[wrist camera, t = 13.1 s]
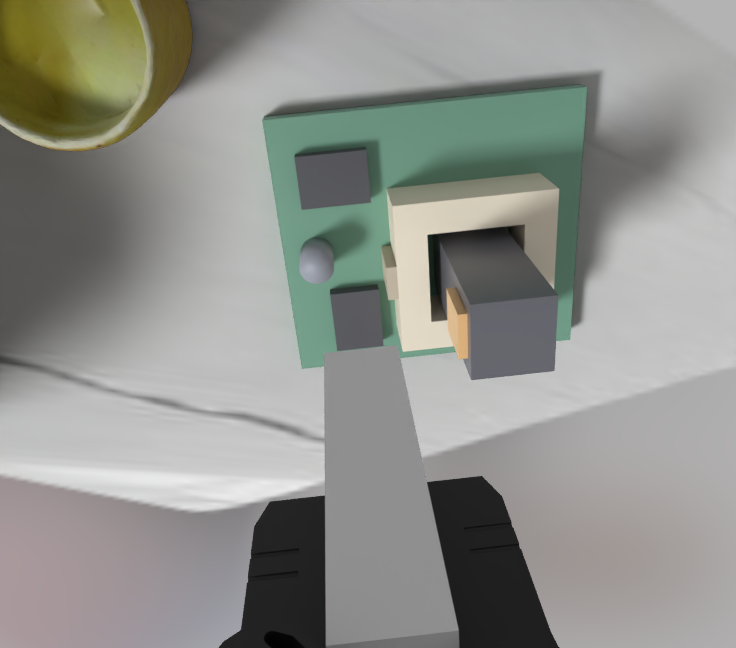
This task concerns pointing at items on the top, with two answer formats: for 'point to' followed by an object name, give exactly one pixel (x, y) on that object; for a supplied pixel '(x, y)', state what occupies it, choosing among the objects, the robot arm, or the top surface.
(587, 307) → the top surface
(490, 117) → the board
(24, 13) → the mug
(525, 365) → the plug
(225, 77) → the top surface
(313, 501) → the robot arm
